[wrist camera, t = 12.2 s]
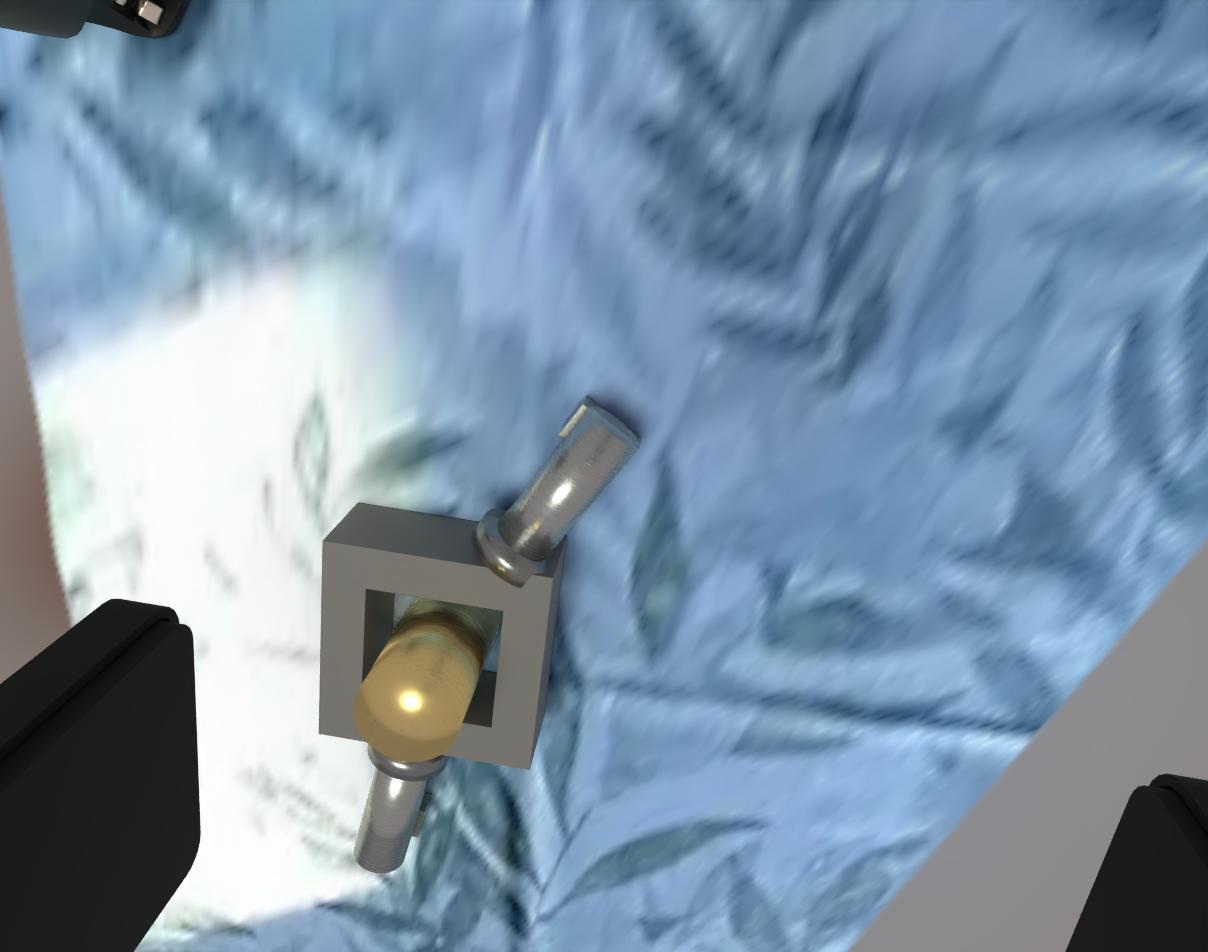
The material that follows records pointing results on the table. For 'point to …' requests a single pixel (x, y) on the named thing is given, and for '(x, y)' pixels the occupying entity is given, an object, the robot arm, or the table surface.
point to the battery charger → (91, 16)
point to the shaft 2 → (555, 495)
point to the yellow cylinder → (425, 679)
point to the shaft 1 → (394, 810)
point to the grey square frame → (446, 573)
